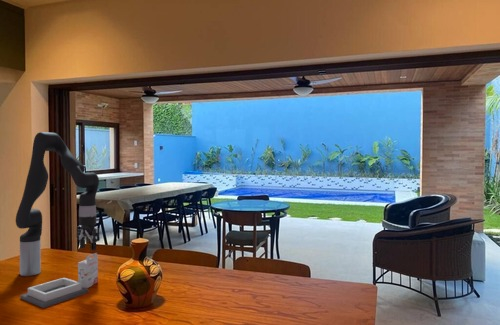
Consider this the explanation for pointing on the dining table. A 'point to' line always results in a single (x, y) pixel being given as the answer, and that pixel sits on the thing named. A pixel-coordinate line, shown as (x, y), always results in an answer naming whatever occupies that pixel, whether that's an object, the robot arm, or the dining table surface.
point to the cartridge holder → (54, 292)
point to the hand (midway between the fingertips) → (88, 249)
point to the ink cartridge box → (88, 271)
